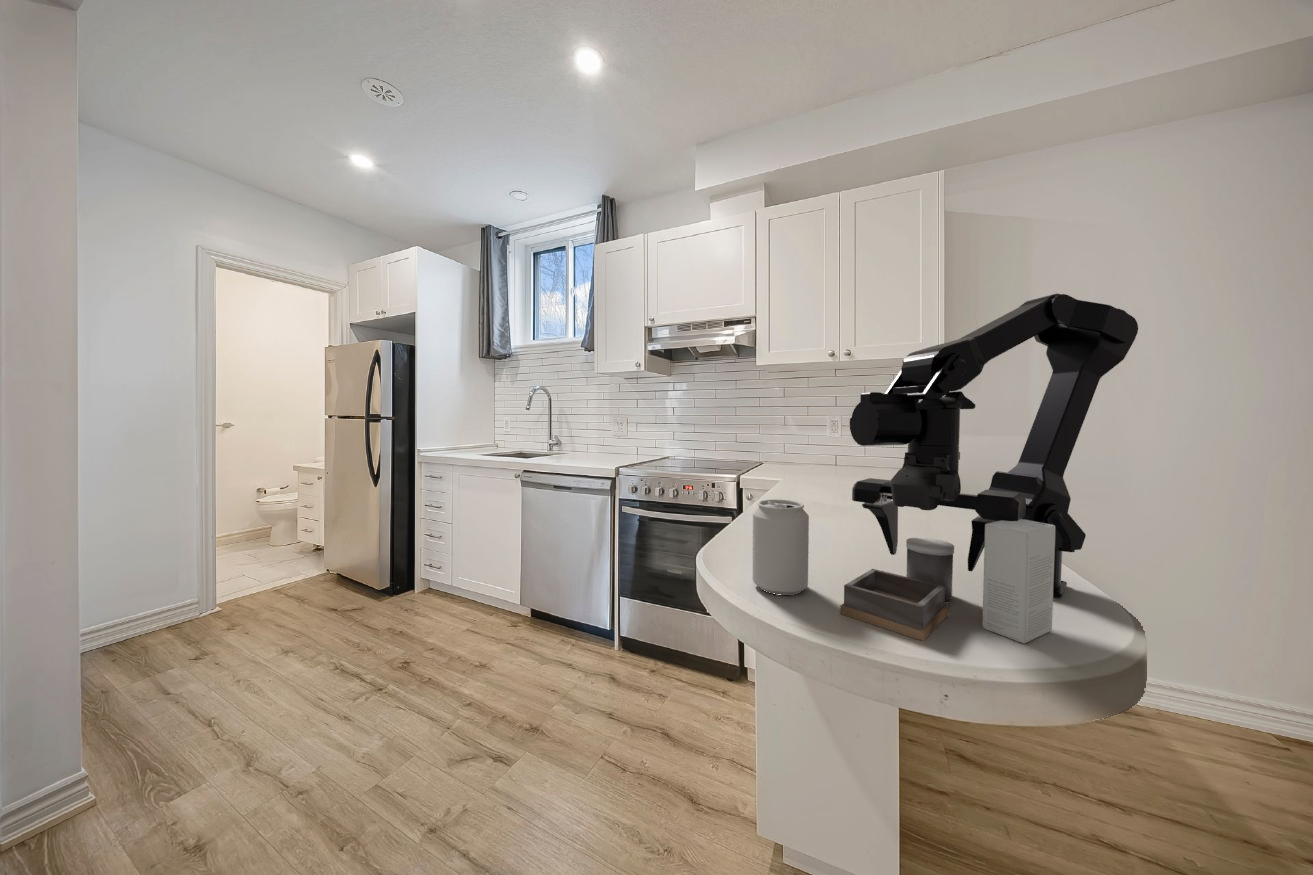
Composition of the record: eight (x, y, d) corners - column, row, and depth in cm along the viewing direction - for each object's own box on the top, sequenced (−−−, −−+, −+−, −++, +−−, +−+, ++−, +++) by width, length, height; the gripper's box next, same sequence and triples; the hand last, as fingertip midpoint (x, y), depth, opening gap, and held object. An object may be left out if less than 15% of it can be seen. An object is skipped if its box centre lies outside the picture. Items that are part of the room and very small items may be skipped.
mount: (870, 593, 60) (871, 567, 60) (947, 614, 54) (948, 586, 53) (840, 613, 54) (840, 585, 54) (923, 641, 47) (924, 608, 47)
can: (811, 600, 58) (812, 508, 57) (752, 596, 59) (753, 506, 59) (804, 579, 65) (805, 498, 65) (752, 576, 67) (752, 496, 66)
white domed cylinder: (913, 584, 63) (914, 535, 63) (957, 595, 59) (959, 543, 59) (899, 594, 60) (900, 543, 59) (945, 607, 56) (947, 552, 55)
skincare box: (1008, 616, 53) (1012, 516, 52) (1052, 632, 49) (1058, 524, 49) (979, 627, 50) (983, 522, 50) (1024, 645, 46) (1029, 531, 46)
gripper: (834, 444, 60) (833, 559, 61) (1010, 452, 46) (1005, 600, 47) (869, 440, 67) (867, 542, 68) (1028, 446, 54) (1024, 574, 55)
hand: (929, 562), depth 59 cm, fingers open, 9 cm apart
